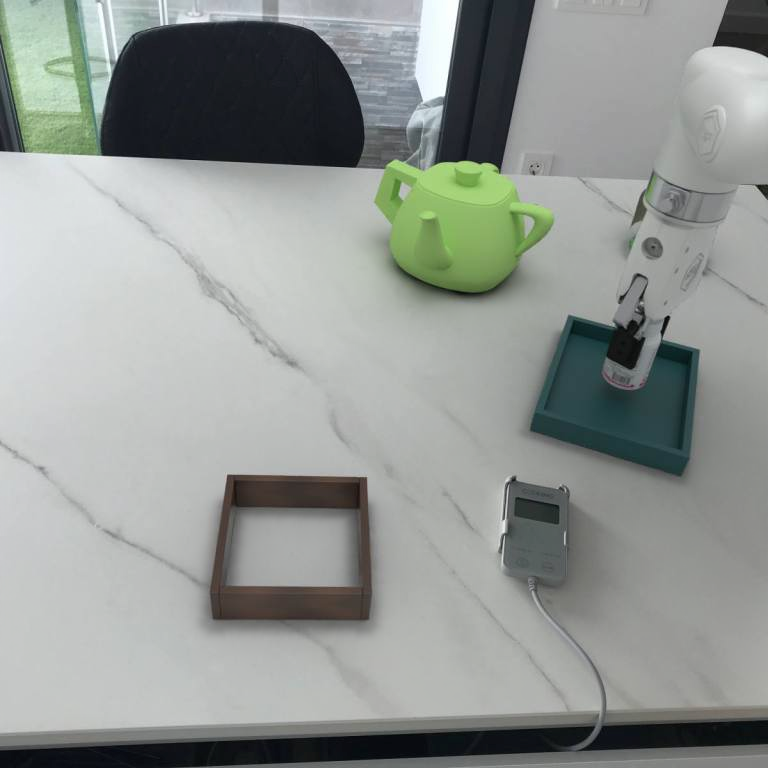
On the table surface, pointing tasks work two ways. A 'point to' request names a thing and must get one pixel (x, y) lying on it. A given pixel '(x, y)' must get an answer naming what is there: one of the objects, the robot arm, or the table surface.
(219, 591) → the square wooden frame
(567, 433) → the tray
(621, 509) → the table surface
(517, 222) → the teapot
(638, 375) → the pill bottle
